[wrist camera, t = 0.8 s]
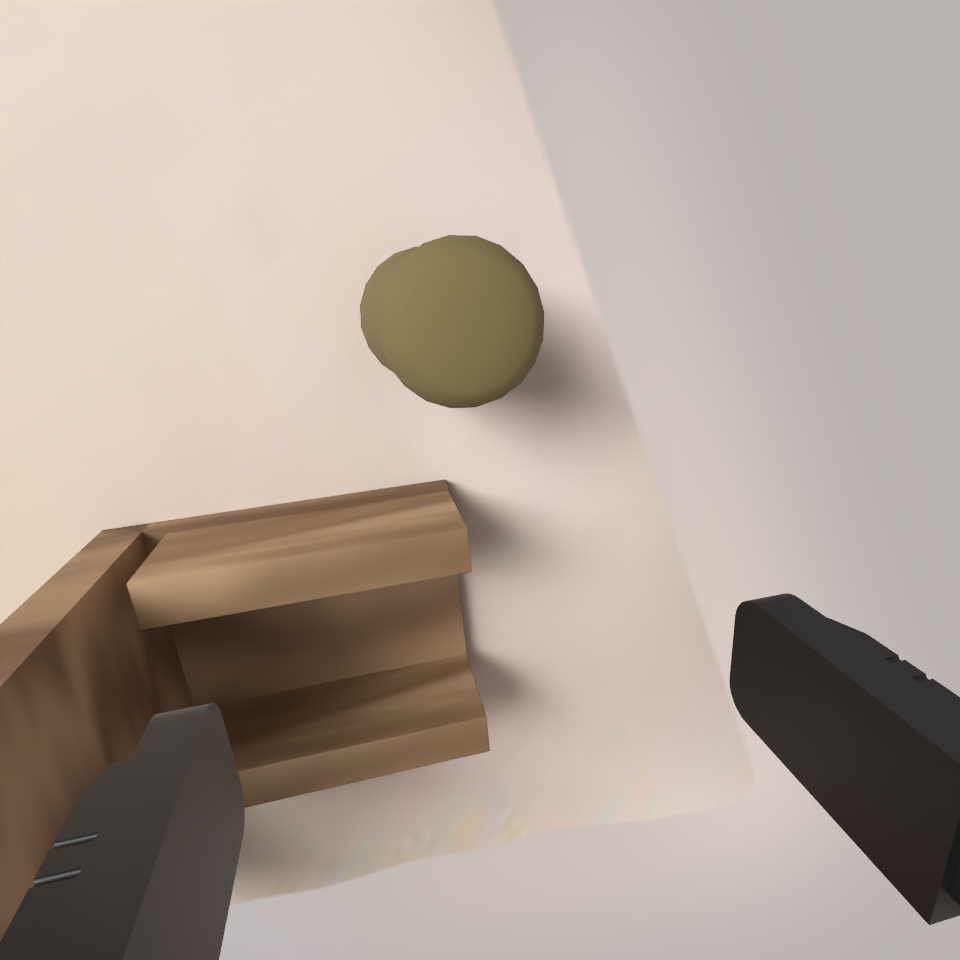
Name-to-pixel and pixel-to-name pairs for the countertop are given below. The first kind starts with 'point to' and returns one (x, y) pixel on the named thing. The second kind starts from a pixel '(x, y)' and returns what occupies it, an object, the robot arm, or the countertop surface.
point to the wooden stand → (241, 654)
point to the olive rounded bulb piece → (454, 320)
